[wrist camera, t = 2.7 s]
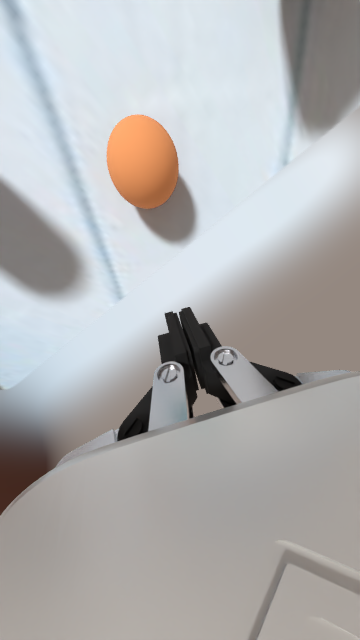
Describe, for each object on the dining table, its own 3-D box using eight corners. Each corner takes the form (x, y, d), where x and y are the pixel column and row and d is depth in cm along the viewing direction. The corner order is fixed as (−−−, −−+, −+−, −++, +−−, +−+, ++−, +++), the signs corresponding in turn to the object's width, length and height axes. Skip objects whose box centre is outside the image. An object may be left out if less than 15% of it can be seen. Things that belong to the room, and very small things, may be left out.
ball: (166, 126, 15) (176, 87, 10) (178, 202, 18) (190, 199, 13) (102, 139, 15) (83, 105, 10) (125, 214, 18) (118, 215, 13)
